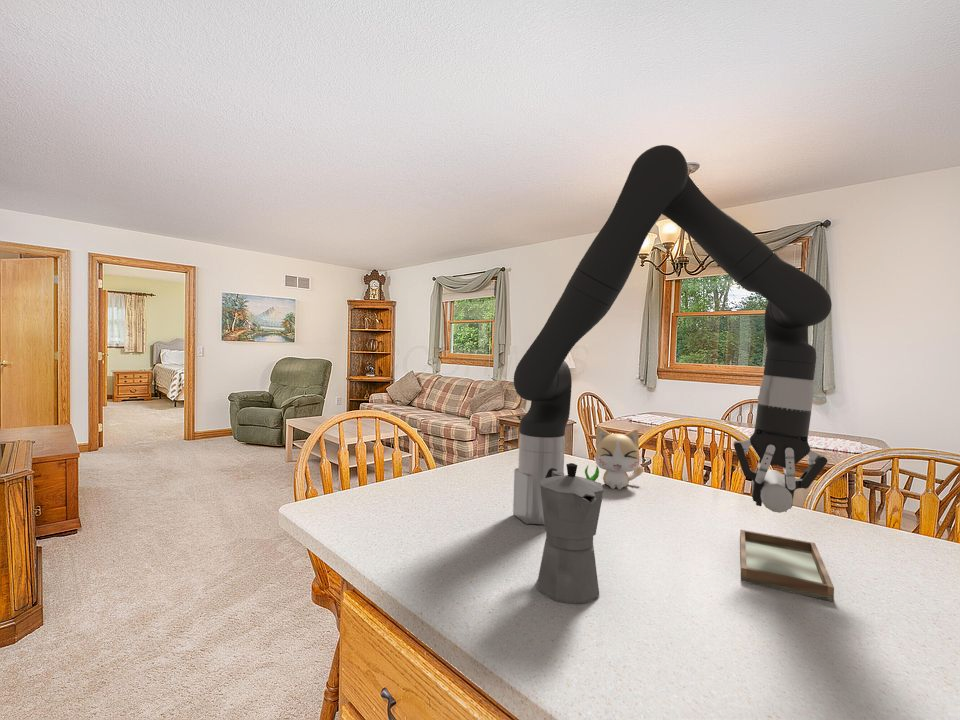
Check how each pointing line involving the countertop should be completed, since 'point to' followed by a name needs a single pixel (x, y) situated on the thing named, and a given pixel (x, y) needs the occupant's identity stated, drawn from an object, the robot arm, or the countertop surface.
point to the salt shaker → (775, 492)
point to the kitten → (617, 457)
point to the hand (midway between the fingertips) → (770, 507)
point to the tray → (784, 565)
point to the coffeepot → (569, 536)
